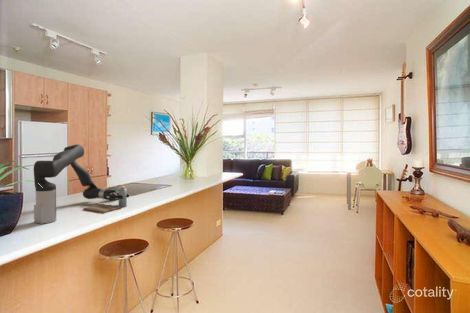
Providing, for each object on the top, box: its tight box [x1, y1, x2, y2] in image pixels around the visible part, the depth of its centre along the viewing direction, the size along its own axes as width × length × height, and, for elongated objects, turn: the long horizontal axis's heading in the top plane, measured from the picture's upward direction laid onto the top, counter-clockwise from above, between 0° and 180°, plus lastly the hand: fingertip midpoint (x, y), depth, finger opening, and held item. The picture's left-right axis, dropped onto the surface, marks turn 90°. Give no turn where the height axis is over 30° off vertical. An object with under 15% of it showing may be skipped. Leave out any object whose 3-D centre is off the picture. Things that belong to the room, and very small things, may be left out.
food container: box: [108, 184, 122, 202], centre depth 211 cm, size 12×6×10 cm, turn 168°
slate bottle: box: [118, 185, 128, 208], centre depth 189 cm, size 5×5×14 cm
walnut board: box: [82, 203, 122, 214], centre depth 180 cm, size 14×18×1 cm
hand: (125, 196), depth 188 cm, fingers closed on slate bottle, 5 cm apart
